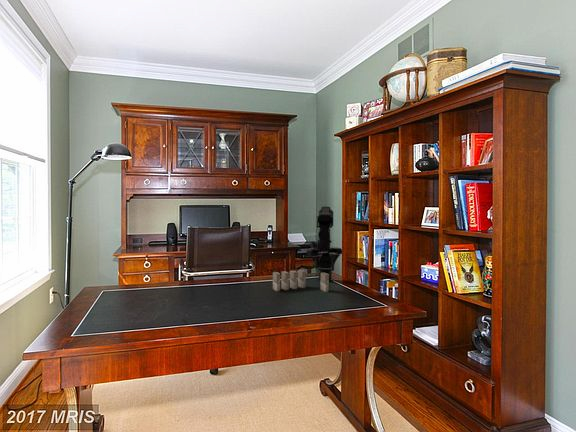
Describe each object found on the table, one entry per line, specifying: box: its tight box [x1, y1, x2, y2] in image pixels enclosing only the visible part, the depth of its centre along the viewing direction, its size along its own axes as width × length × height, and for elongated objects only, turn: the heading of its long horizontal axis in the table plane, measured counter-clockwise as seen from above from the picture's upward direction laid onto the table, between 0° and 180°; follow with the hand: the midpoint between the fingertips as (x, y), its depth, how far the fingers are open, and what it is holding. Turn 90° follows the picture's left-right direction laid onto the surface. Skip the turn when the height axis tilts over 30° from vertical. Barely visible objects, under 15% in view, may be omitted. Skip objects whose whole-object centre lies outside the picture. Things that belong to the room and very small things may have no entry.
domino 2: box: [280, 270, 290, 291], centre depth 204 cm, size 2×5×9 cm, turn 26°
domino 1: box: [272, 271, 281, 292], centre depth 201 cm, size 2×5×9 cm, turn 26°
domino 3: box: [289, 270, 298, 290], centre depth 206 cm, size 2×5×9 cm, turn 26°
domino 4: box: [297, 269, 307, 289], centre depth 208 cm, size 2×5×9 cm, turn 26°
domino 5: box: [319, 273, 330, 293], centre depth 200 cm, size 2×5×9 cm, turn 26°
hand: (324, 268), depth 200 cm, fingers open, 9 cm apart
